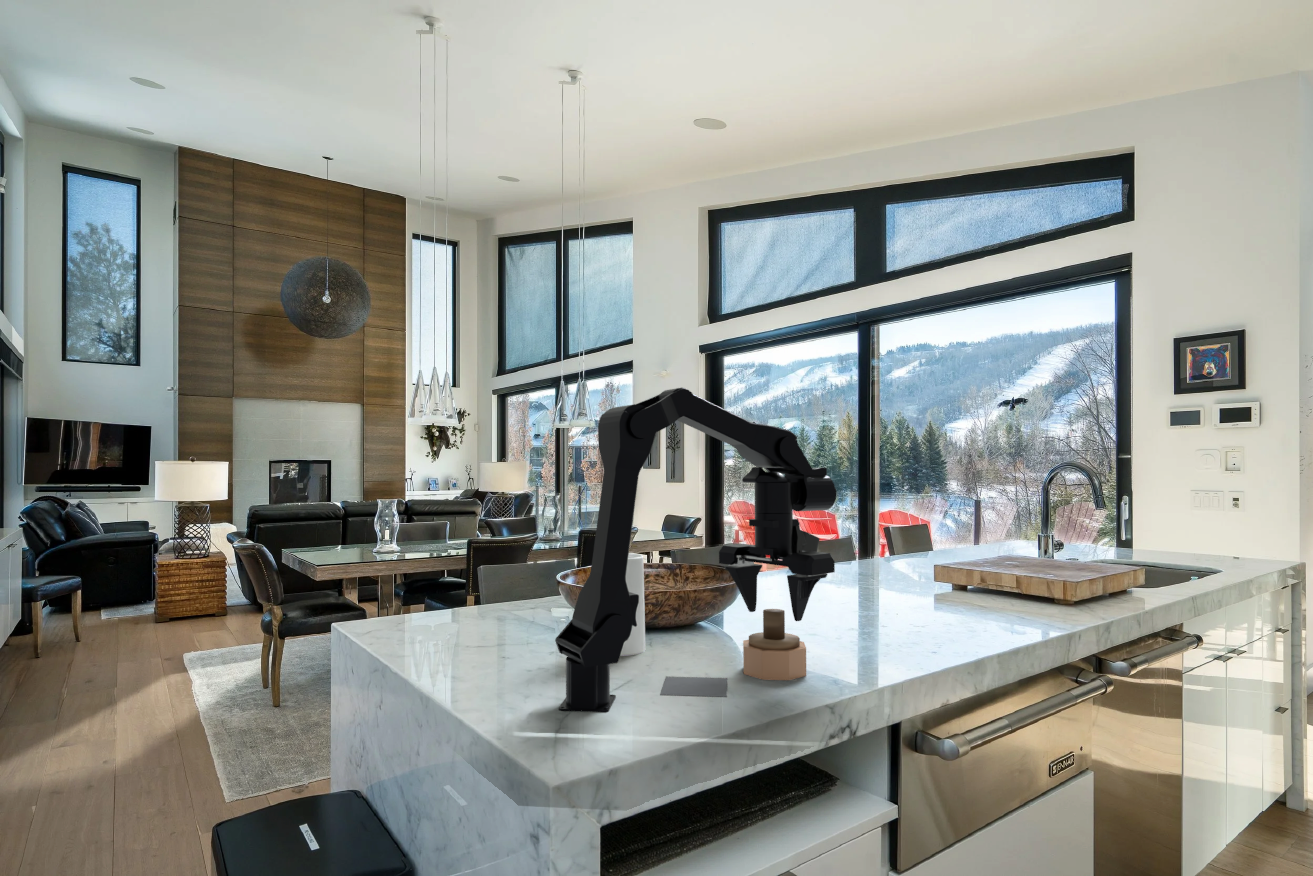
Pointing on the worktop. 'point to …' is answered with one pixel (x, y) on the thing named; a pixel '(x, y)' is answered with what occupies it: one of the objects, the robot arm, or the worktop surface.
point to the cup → (637, 587)
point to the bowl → (774, 662)
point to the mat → (695, 686)
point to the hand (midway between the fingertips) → (774, 616)
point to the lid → (774, 633)
